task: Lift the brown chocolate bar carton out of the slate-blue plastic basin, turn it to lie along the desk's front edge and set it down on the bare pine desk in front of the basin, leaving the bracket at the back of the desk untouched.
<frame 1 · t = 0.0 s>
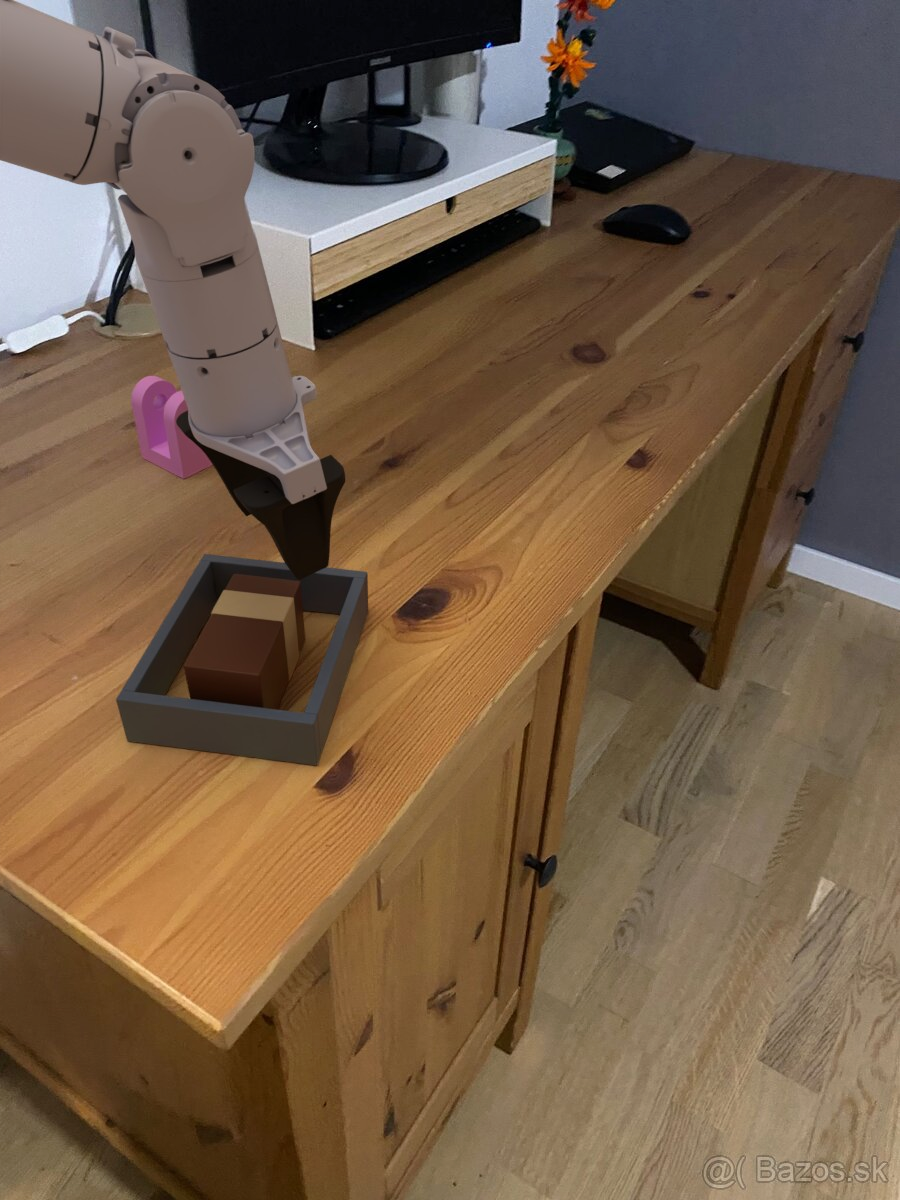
hand: (283, 537, 55), 9 cm above the table, tool pointing down, fingers open, 7 cm apart
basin: (258, 670, 59), on the table
chocolate bar: (253, 680, 58), resting in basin
bracket: (220, 442, 83), on the table
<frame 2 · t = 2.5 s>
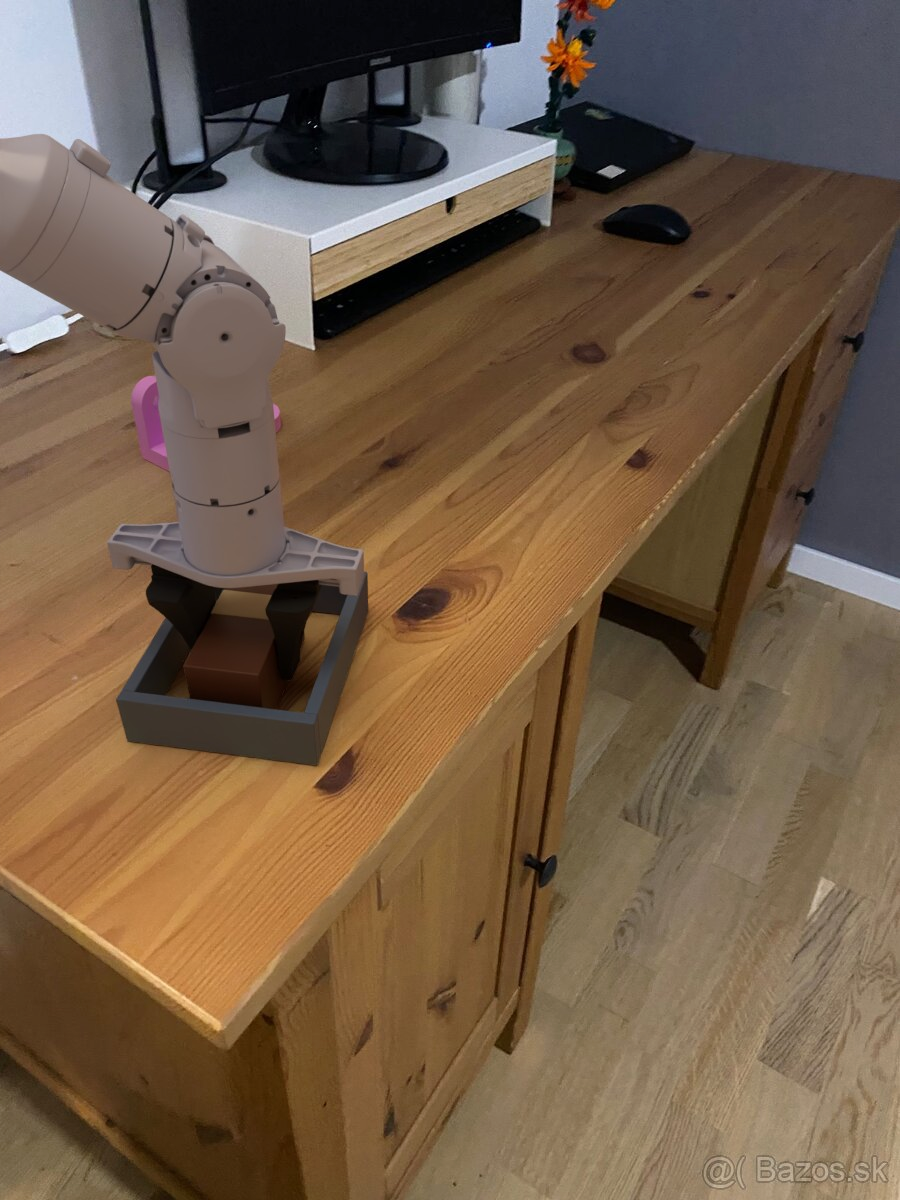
hand: (251, 664, 58), 1 cm above the table, tool pointing down, fingers closed on chocolate bar, 4 cm apart
chocolate bar: (253, 680, 58), resting in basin, touching gripper
everything else where it was.
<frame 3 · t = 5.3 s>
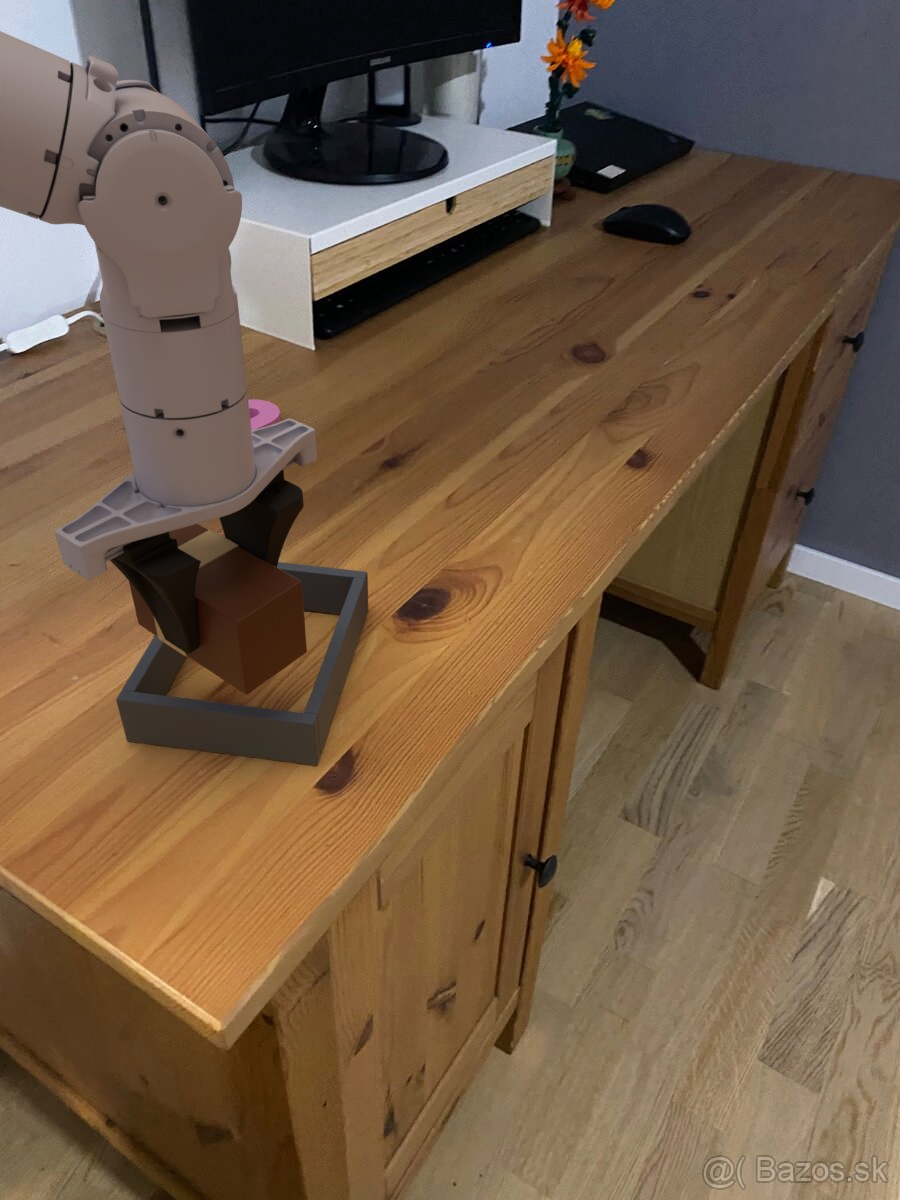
hand: (219, 619, 50), 8 cm above the table, tool pointing down, fingers closed on chocolate bar, 4 cm apart
chocolate bar: (221, 638, 51), point 7 cm above the table, touching gripper
everything else where it was.
when the fingers open (1 cm above the table, at t = 8.2 s): chocolate bar stays where it is, on the table.
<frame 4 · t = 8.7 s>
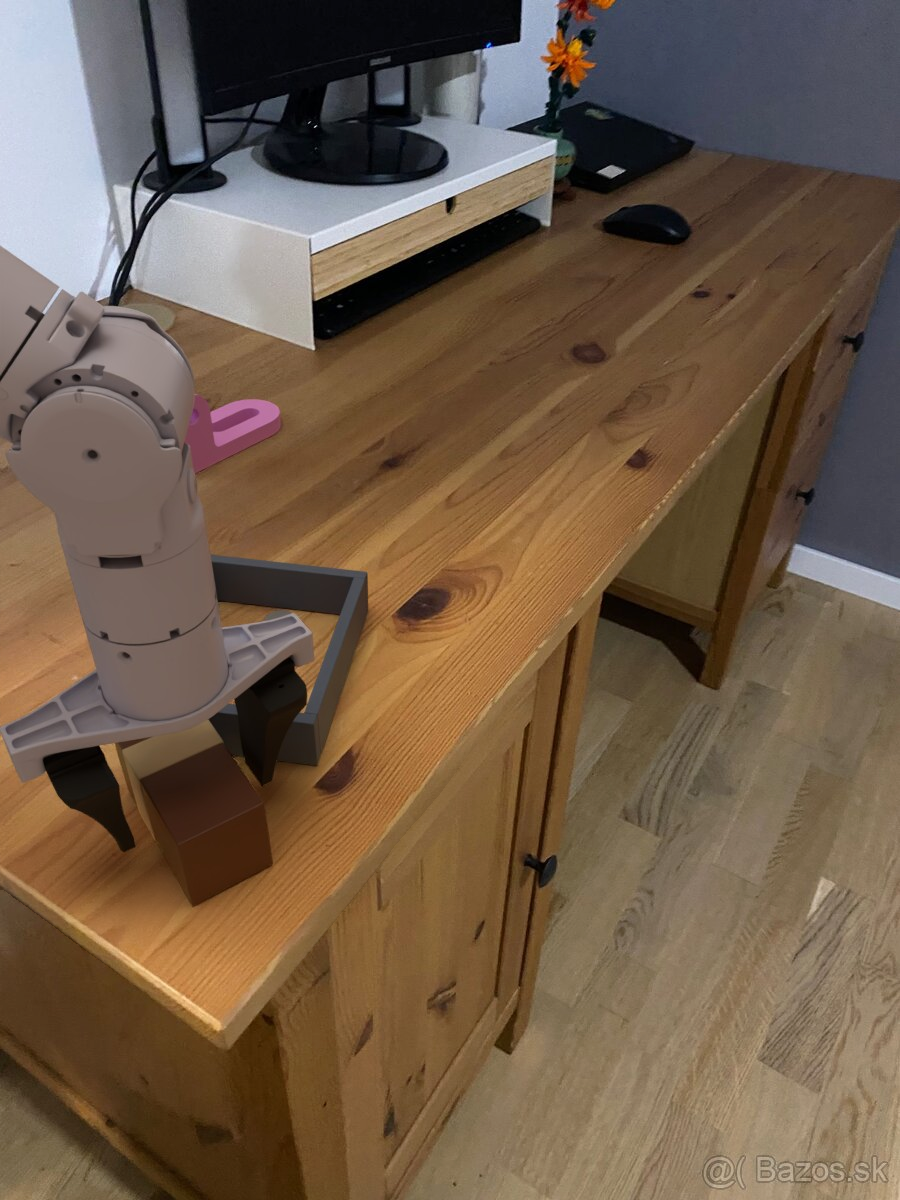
hand: (193, 803, 48), 2 cm above the table, tool pointing down, fingers open, 7 cm apart
chocolate bar: (198, 825, 49), on the table
everything else where it was.
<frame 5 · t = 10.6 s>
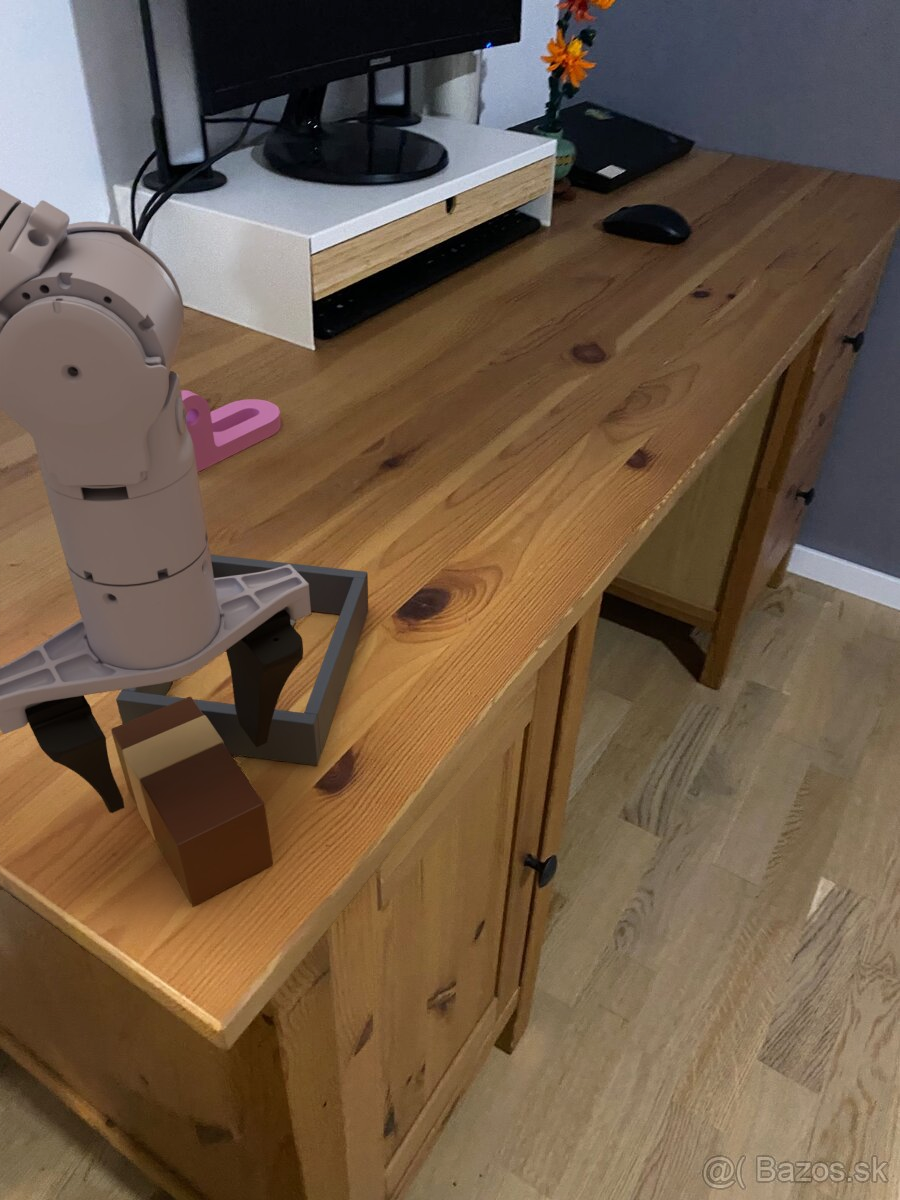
hand: (184, 764, 46), 5 cm above the table, tool pointing down, fingers open, 7 cm apart
nothing on the table moved.
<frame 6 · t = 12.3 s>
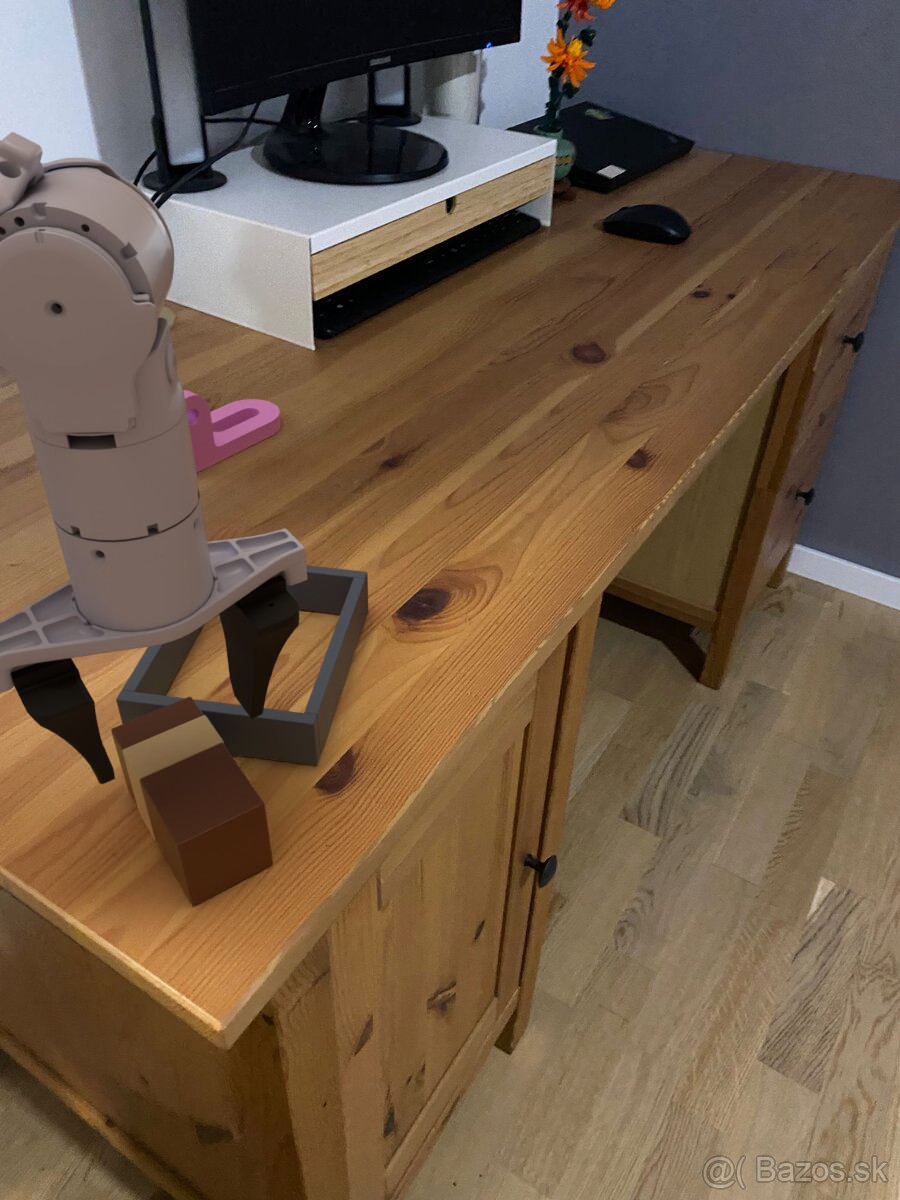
hand: (177, 735, 45), 7 cm above the table, tool pointing down, fingers open, 7 cm apart
nothing on the table moved.
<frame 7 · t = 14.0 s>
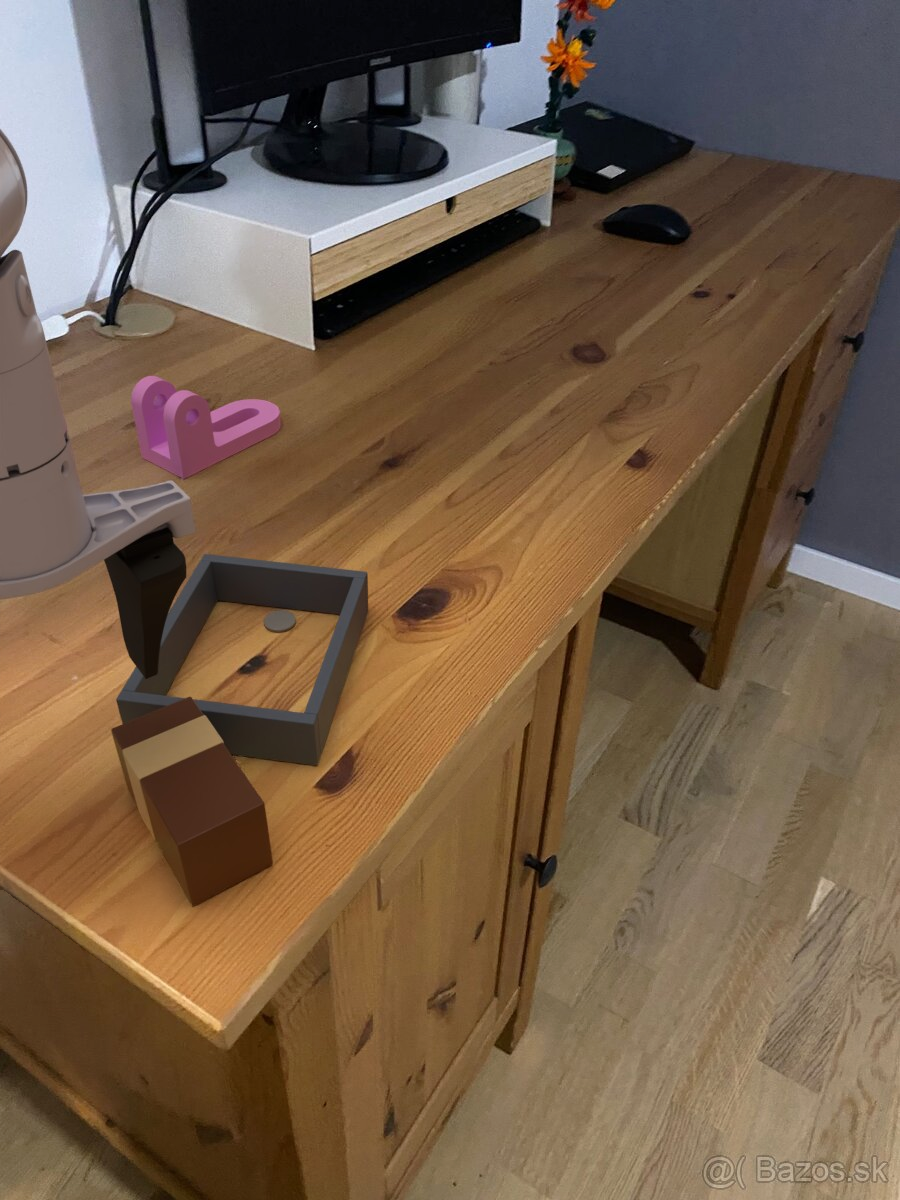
hand: (67, 697, 44), 9 cm above the table, tool pointing down, fingers open, 7 cm apart
nothing on the table moved.
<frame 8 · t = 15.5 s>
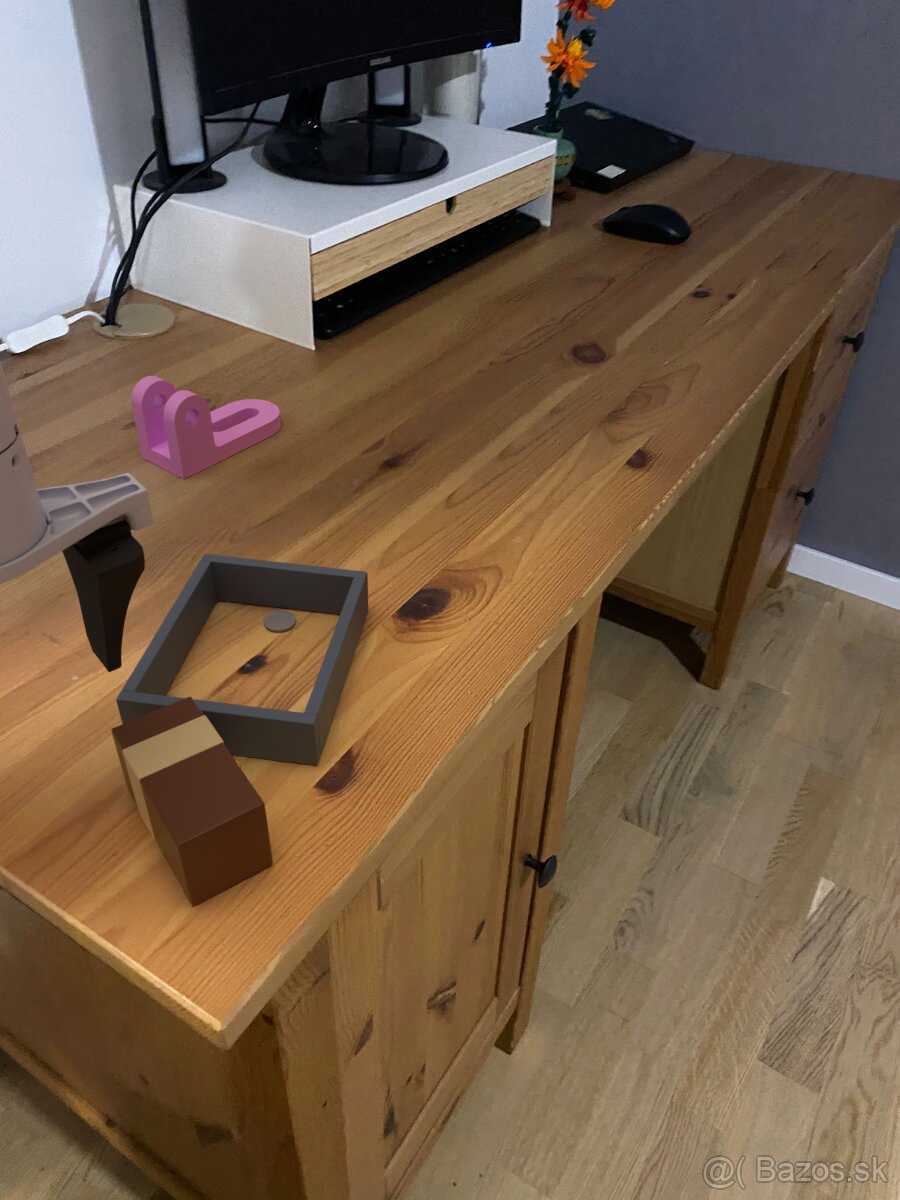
hand: (30, 692, 44), 9 cm above the table, tool pointing down, fingers open, 7 cm apart
nothing on the table moved.
at the end: chocolate bar 0.2 cm from the target spot, on the table; chocolate bar touching table; bracket moved 0.2 cm from its start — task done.
